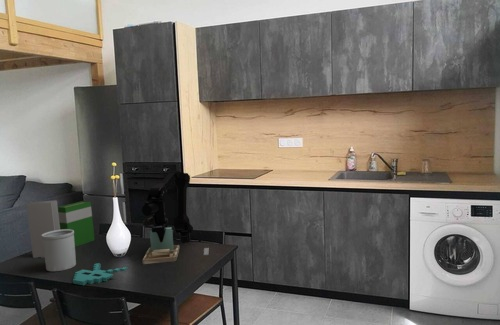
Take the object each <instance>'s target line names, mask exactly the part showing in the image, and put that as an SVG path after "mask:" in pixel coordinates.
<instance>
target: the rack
mask: <svg viewBox="0 0 500 325" xmlns="http://www.w3.org/2000/svg"><path fill="white" fill-rule="evenodd" d="M173 246H174V248H173V250H170V254H173V257H164V258H153V259H148V256H149V254H151V253H152V252H153V251H152V252H151V247H149V248H148V249H147V251H146V252H145V254H144V255H143V256H144V257H143V258H142V265H148V264H150V265H151V264H161V263H170V262H171V263H172V262H177V260H178V255H179V253H180V249H181V248H180V244H177V245H175V244H173Z"/></svg>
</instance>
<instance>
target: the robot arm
mask: <svg viewBox="0 0 500 325" xmlns="http://www.w3.org/2000/svg"><path fill="white" fill-rule="evenodd" d="M190 181H191V175H190V174H189V173H188V172H181V171H178V170H170V171H169V172H168V174H167V175H166V176H165V177H164V178H163V179H162V180H161V181H160V182H159V183H157V184H155V185H153V186H152V187H150V188H149V191H148V195H147V198H146V201H145V202H144V205H143V206H142V208H141V212H142V214H143V215H144V216H146V217H148V218H144V220H143V221H142V225H143V227H144V228H147V227H149V226H151V225H153V226H152V227H151V229H152V232H156V233H157V234H158V237H159V240H160V242H163V238H164V235H165V231H166V229H165V228H168V227H169V226H168V225H169V218H167V217H166V211H165V202H166V201H167V199H166V198H165V197H166V195H167V193H168V189H169V188H170V187H171V186H172V184H173V183H174V186H176V188H177V215H176V216H175V217H174V218H173V228H174V231H175V233H176V234H179V242H180V243H181V244H187V243H190V242H191V241H192V239H191V233H193V232H194V227H193V225H191V223H190V218H189V216H188V213H187V203H188V202H187V200H188V198H187V196H188V194H187V193H188V192H187V189H188V188H189V185H190V183H191V182H190ZM149 216H150V217H149Z"/></svg>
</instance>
